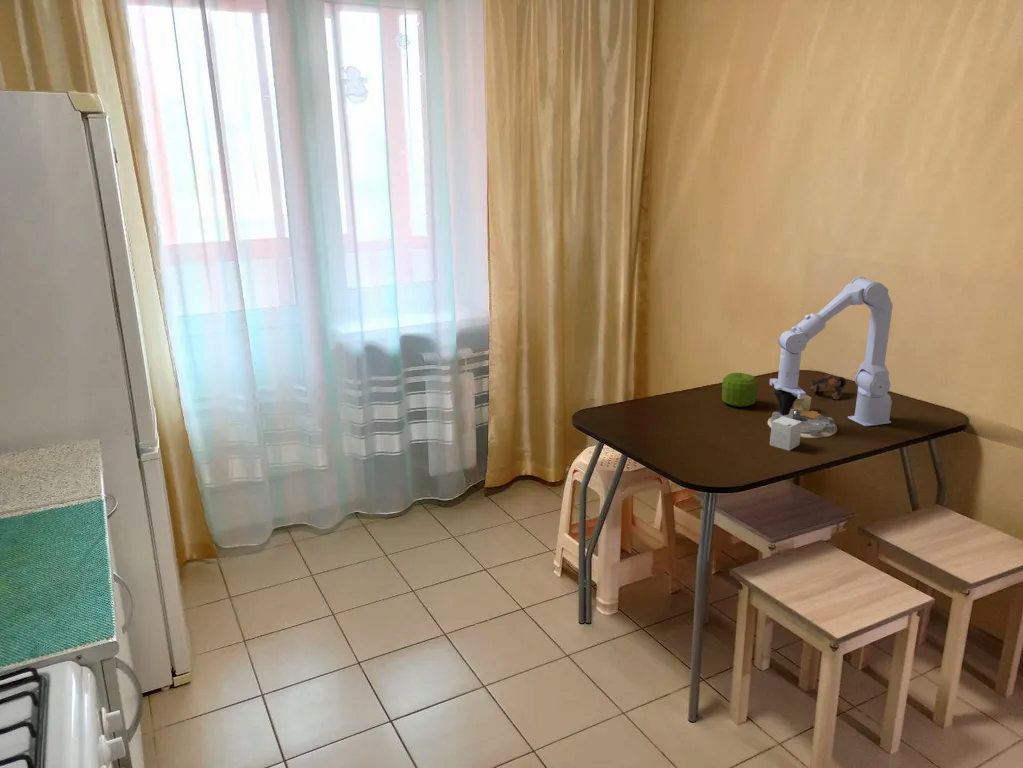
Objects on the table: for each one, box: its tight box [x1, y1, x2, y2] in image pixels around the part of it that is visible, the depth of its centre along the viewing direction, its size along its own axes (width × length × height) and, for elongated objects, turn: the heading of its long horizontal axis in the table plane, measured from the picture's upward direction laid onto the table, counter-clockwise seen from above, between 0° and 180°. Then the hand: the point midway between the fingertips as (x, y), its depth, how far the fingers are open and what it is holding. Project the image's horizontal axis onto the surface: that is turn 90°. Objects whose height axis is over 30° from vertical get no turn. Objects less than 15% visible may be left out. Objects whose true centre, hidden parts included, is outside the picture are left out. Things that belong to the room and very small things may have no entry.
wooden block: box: [793, 394, 812, 412], centre depth 237 cm, size 4×3×5 cm
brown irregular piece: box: [809, 374, 847, 400], centre depth 251 cm, size 12×10×8 cm
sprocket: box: [771, 408, 835, 435], centre depth 224 cm, size 18×18×6 cm
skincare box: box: [769, 416, 802, 451], centre depth 210 cm, size 6×6×7 cm
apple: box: [721, 372, 759, 408], centre depth 242 cm, size 11×11×11 cm
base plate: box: [767, 416, 838, 439], centre depth 225 cm, size 20×20×1 cm
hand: (784, 414), depth 225 cm, fingers closed
